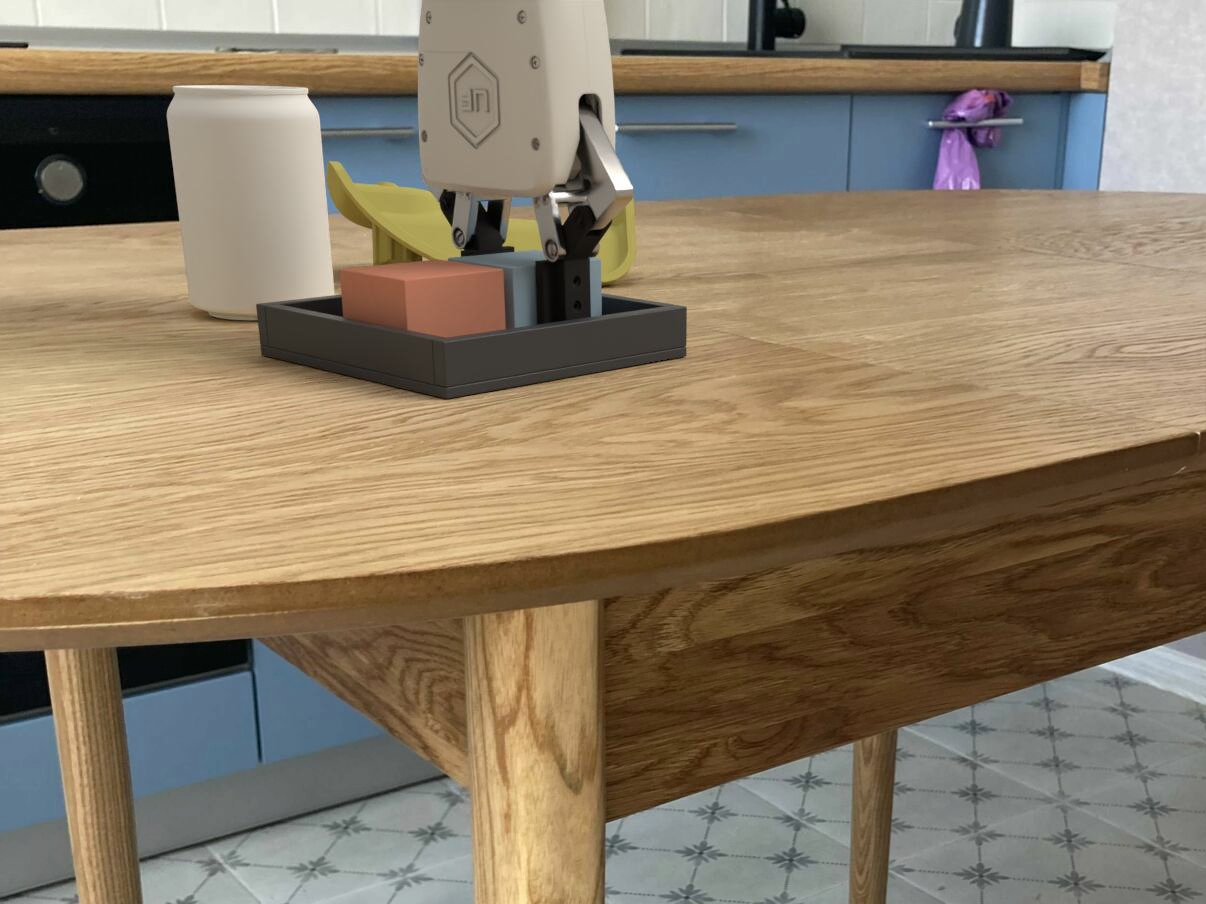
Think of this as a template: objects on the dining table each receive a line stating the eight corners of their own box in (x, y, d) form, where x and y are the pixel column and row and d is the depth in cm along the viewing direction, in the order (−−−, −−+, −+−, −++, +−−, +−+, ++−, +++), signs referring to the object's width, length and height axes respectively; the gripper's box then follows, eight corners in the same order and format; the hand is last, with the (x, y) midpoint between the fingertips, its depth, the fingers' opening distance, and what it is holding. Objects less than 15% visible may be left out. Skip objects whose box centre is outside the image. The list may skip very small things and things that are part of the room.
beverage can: (161, 317, 87) (131, 86, 82) (243, 298, 94) (219, 84, 89) (287, 326, 85) (264, 90, 80) (361, 306, 92) (344, 87, 87)
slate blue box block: (451, 338, 80) (447, 257, 78) (538, 326, 84) (536, 249, 82) (515, 351, 77) (512, 267, 75) (602, 338, 81) (601, 258, 79)
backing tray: (260, 355, 77) (255, 303, 76) (499, 322, 88) (498, 276, 87) (446, 399, 68) (443, 341, 67) (686, 356, 79) (687, 306, 78)
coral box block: (345, 354, 75) (338, 268, 73) (442, 340, 79) (438, 259, 78) (409, 368, 72) (403, 279, 70) (507, 353, 76) (503, 269, 75)
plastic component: (608, 228, 112) (636, 174, 102) (610, 329, 112) (638, 284, 102) (325, 207, 107) (326, 148, 97) (327, 313, 106) (328, 264, 97)
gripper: (338, -61, 75) (368, 322, 83) (578, -74, 65) (588, 365, 72) (459, -52, 80) (477, 308, 88) (699, -63, 70) (696, 346, 78)
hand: (527, 330), depth 80 cm, fingers closed on slate blue box block, 4 cm apart
